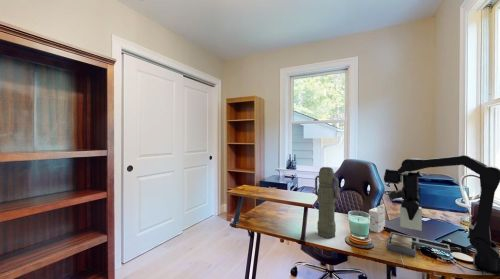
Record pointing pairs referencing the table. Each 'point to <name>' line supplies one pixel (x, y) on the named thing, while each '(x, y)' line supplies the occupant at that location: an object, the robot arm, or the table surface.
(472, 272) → the table surface
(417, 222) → the pale grey block
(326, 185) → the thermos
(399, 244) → the block
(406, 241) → the offcut top
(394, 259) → the table surface
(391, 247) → the rack
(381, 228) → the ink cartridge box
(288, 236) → the table surface
